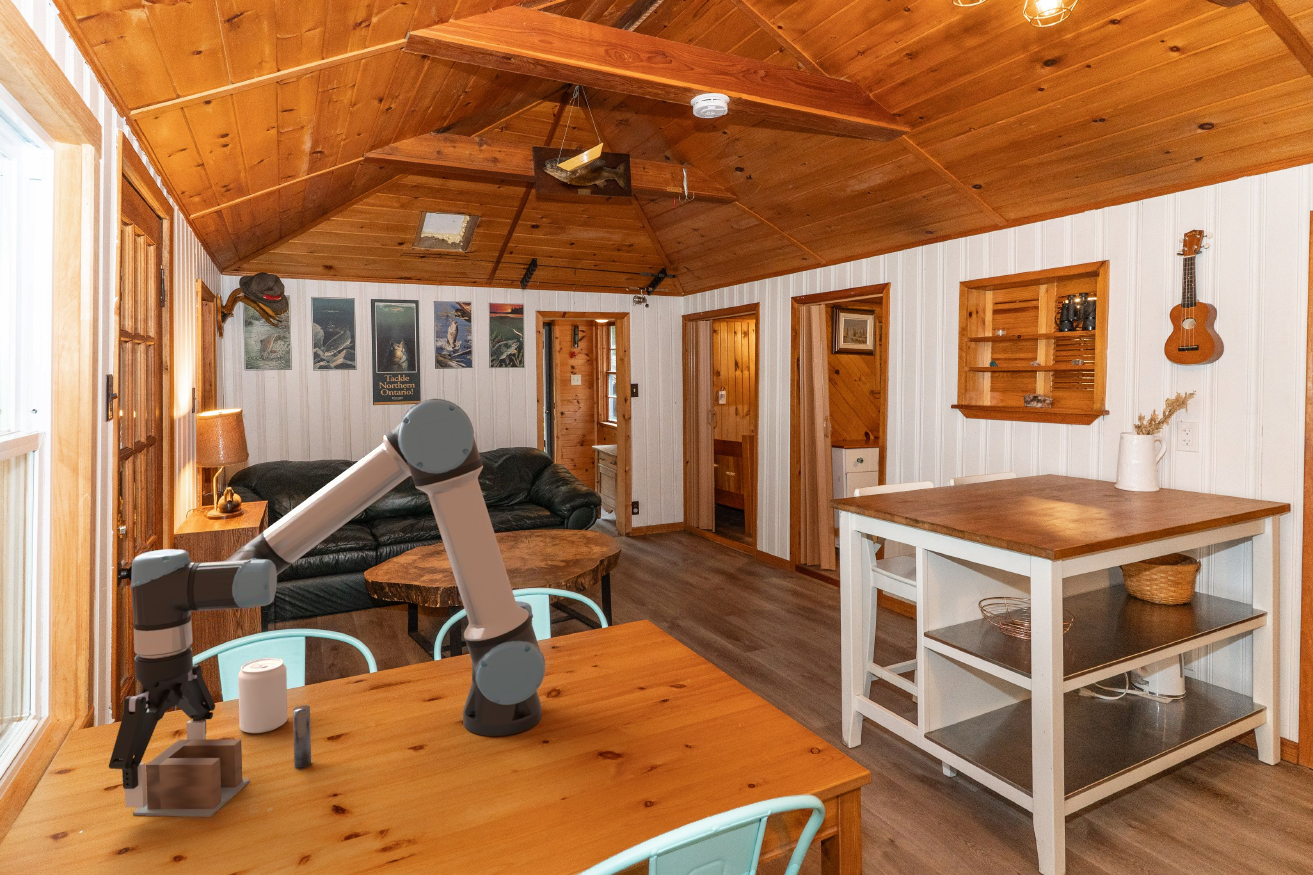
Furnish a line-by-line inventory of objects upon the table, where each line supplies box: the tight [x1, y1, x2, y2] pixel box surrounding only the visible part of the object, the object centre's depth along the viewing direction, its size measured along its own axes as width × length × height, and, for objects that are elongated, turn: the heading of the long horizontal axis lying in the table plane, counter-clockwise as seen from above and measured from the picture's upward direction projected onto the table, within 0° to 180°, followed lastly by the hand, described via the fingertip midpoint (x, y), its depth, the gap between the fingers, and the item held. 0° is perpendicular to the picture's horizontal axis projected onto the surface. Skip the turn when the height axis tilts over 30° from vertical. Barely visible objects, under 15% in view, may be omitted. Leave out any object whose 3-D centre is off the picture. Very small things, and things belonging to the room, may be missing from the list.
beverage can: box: [237, 657, 289, 734], centre depth 138 cm, size 8×8×12 cm
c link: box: [145, 738, 244, 809], centre depth 114 cm, size 10×8×7 cm
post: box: [292, 704, 312, 770], centre depth 124 cm, size 3×3×10 cm
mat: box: [132, 778, 251, 818], centre depth 114 cm, size 12×10×1 cm
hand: (168, 781), depth 114 cm, fingers open, 13 cm apart
